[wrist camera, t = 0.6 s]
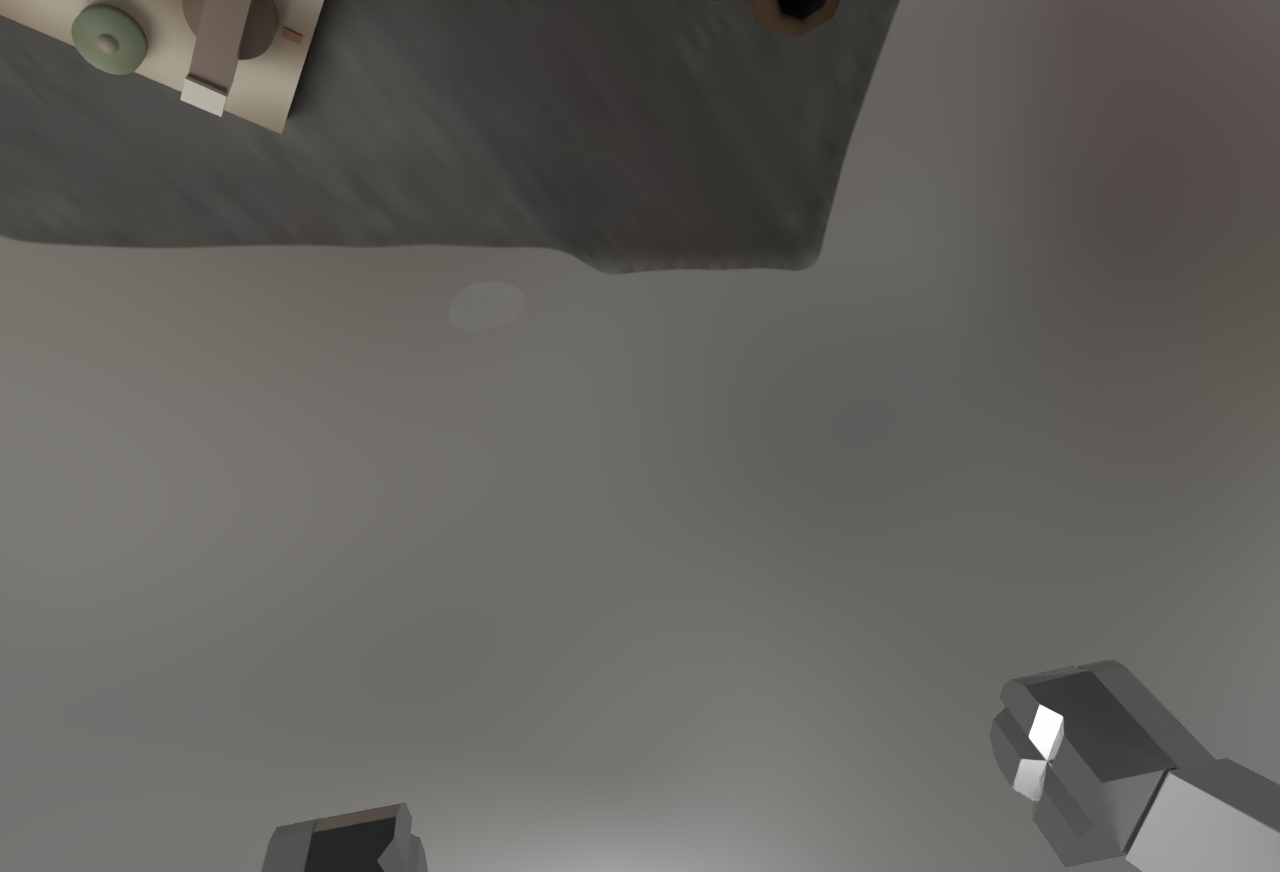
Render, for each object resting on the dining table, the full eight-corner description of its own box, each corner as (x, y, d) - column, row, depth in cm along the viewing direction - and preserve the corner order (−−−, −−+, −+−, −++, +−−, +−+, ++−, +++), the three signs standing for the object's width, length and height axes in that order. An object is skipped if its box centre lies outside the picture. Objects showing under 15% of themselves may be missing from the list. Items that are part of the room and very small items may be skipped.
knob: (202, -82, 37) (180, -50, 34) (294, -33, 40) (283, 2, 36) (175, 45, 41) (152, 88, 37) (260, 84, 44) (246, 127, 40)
